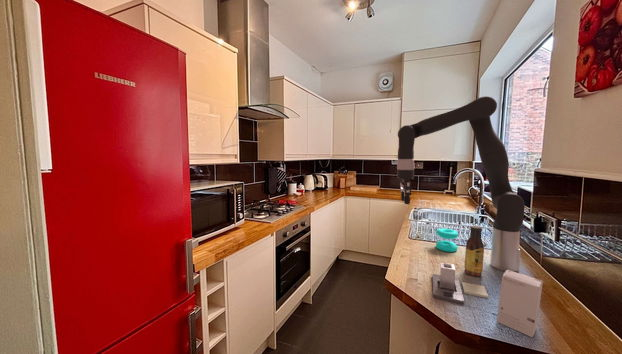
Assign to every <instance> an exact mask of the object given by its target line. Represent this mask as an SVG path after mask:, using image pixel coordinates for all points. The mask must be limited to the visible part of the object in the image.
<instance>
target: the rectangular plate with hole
mask: <svg viewBox="0 0 622 354" xmlns="http://www.w3.org/2000/svg"><path fill="white" fill-rule="evenodd" d="M431 275H432V277H431V278H432V291H433V299H437V300H442V301H446V302H450V303H454V304H455V303H456V304H460V305H465V299H464V296H463V291H462V287H461V282H460V279H459V278H457V277H455V291H454V292H453V291H448V290H444V289H440V287H439V283H440V274H436V273H432V274H431Z"/></svg>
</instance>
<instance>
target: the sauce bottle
mask: <svg viewBox="0 0 622 354" xmlns="http://www.w3.org/2000/svg"><path fill="white" fill-rule="evenodd" d="M469 230H470V234H469V238H468V239H467V240H466V245H465V254H464V266H463V267H464V272H465V274H467V275H470V276H474V277H481V276H482V275H483V269H484V257H485V255H484V254H485V246H484V242H483V240H482V232H483V227H481V226H478V225H471V226H470V227H469Z"/></svg>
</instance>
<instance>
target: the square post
mask: <svg viewBox="0 0 622 354" xmlns="http://www.w3.org/2000/svg"><path fill="white" fill-rule="evenodd" d="M439 264H440V266H439V275H440V283H439V284H438V287H439V289H444V290H448V291H453V292H456V289H455V278H456V267H455V264H454V263H453V264H452V263H447V262H439Z"/></svg>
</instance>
